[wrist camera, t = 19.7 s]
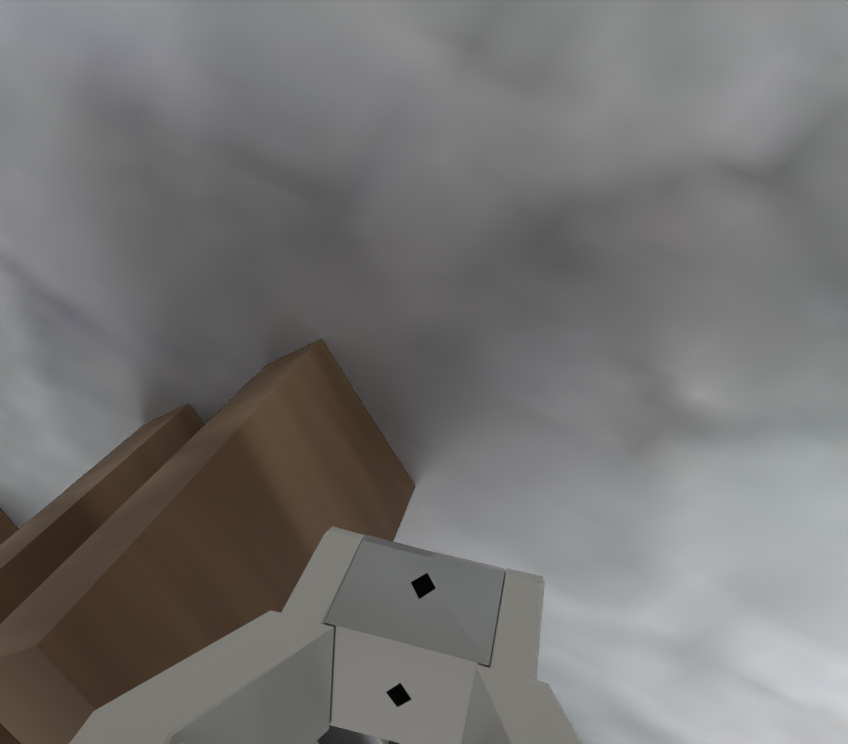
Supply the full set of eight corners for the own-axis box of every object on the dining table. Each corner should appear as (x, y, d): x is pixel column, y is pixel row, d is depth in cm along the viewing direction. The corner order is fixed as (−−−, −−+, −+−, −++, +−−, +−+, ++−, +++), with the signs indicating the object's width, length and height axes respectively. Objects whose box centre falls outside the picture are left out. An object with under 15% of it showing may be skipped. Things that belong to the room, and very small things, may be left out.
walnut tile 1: (358, 506, 19) (164, 886, 11) (264, 366, 18) (-50, 672, 9) (415, 486, 18) (255, 880, 10) (321, 339, 17) (37, 645, 8)
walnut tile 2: (235, 548, 21) (-14, 896, 13) (142, 425, 20) (-212, 722, 11) (282, 532, 20) (50, 892, 12) (188, 403, 19) (-155, 704, 10)
